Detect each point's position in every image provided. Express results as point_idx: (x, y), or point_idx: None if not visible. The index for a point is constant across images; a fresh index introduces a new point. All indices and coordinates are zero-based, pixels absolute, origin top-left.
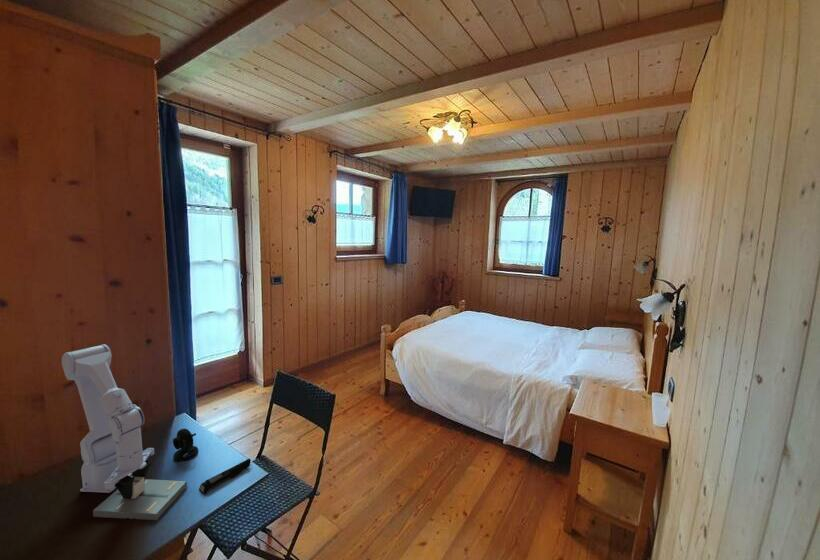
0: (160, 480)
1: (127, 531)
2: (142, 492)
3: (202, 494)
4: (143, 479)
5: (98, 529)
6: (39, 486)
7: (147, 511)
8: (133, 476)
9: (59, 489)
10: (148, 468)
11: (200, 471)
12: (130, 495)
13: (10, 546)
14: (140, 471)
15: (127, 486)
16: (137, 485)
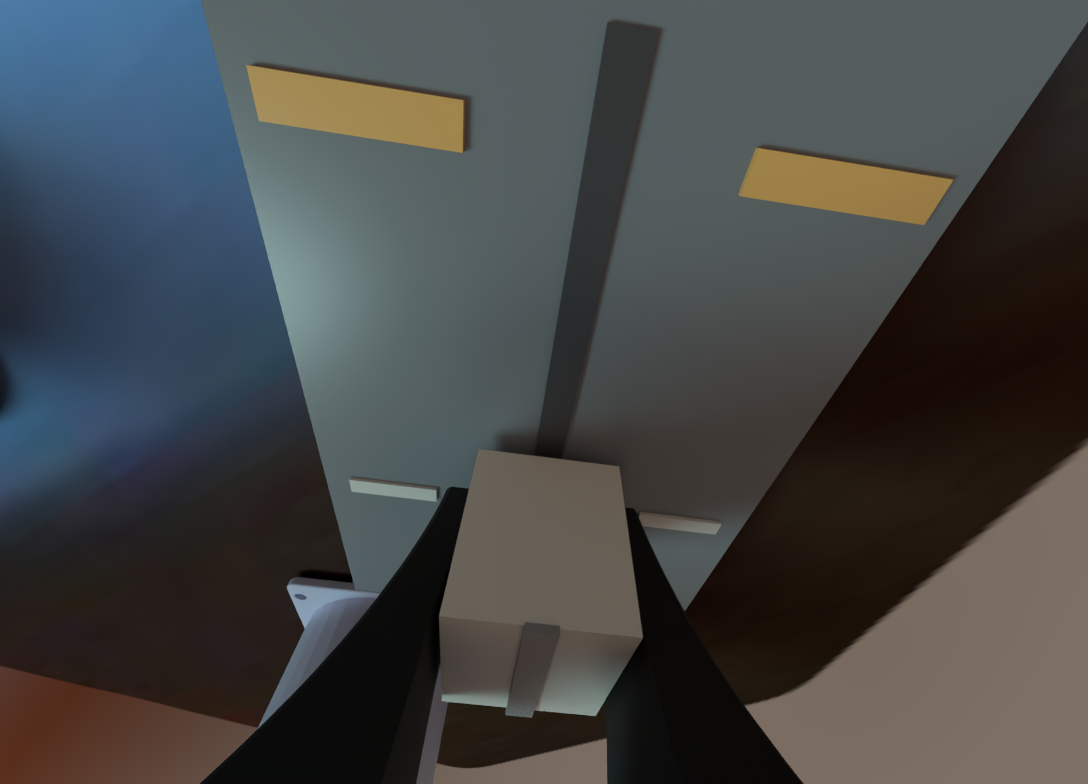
0: (307, 368)
1: (986, 295)
2: (515, 445)
3: None
4: (463, 588)
5: (808, 508)
6: (445, 742)
7: (936, 195)
8: (434, 685)
9: (455, 712)
10: (289, 723)
11: None
12: (646, 538)
13: (757, 698)
14: (401, 764)
15: (782, 763)
16: (577, 589)
